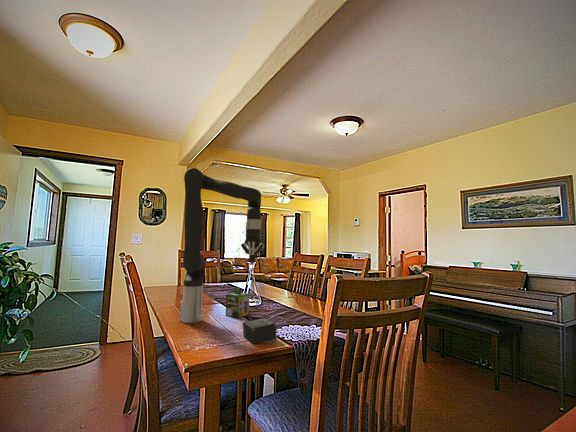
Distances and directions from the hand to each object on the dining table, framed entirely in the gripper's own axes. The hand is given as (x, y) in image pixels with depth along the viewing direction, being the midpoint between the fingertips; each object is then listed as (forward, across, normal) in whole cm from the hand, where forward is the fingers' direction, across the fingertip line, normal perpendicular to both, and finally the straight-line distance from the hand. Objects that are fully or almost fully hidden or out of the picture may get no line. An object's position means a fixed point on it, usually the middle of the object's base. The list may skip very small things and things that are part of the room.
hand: (252, 262), depth 156 cm
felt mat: (+29, -20, +21) cm, 41 cm away
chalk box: (+29, +11, -7) cm, 32 cm away
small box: (+26, -12, +19) cm, 34 cm away
